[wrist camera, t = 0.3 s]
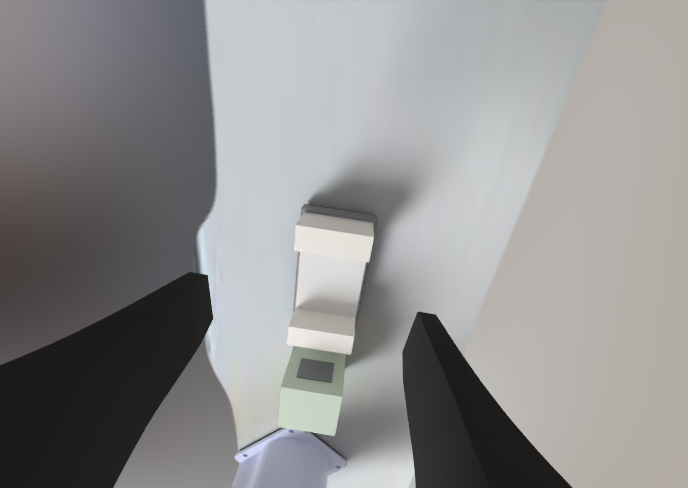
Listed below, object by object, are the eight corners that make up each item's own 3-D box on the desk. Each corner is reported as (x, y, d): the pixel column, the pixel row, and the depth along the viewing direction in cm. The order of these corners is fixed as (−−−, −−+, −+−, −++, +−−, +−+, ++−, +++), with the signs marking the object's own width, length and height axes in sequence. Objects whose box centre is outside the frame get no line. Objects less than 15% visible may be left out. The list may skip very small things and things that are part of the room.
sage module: (341, 371, 25) (334, 436, 20) (295, 364, 25) (278, 426, 20) (347, 335, 23) (342, 395, 18) (299, 328, 23) (280, 385, 18)
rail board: (355, 324, 22) (353, 357, 19) (295, 315, 23) (284, 346, 19) (376, 215, 19) (378, 234, 16) (304, 204, 19) (292, 221, 16)
